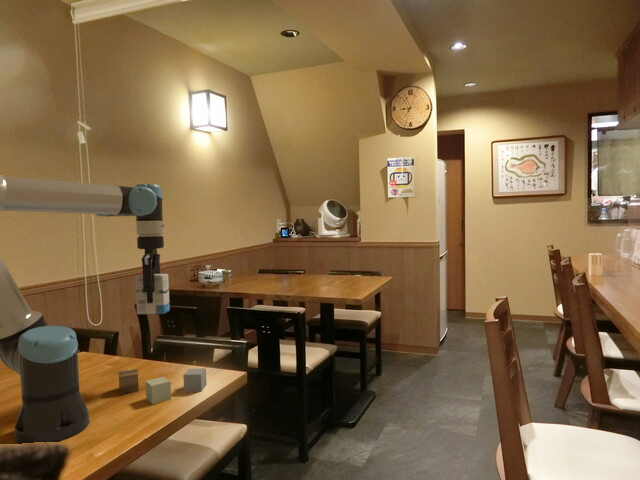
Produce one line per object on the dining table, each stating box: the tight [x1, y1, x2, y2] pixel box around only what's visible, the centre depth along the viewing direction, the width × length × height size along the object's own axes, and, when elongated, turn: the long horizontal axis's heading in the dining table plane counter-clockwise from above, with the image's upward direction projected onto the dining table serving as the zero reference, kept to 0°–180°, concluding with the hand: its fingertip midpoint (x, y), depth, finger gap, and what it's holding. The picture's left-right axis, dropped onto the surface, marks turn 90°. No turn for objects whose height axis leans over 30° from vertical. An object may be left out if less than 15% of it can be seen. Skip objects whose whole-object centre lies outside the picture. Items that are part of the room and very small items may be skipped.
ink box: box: [134, 273, 171, 315], centre depth 139 cm, size 8×5×12 cm, turn 85°
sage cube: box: [145, 376, 172, 405], centre depth 124 cm, size 5×5×5 cm
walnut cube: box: [118, 368, 140, 395], centre depth 131 cm, size 5×5×5 cm
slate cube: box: [183, 367, 207, 393], centre depth 131 cm, size 5×5×5 cm
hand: (153, 311), depth 139 cm, fingers closed on ink box, 6 cm apart
